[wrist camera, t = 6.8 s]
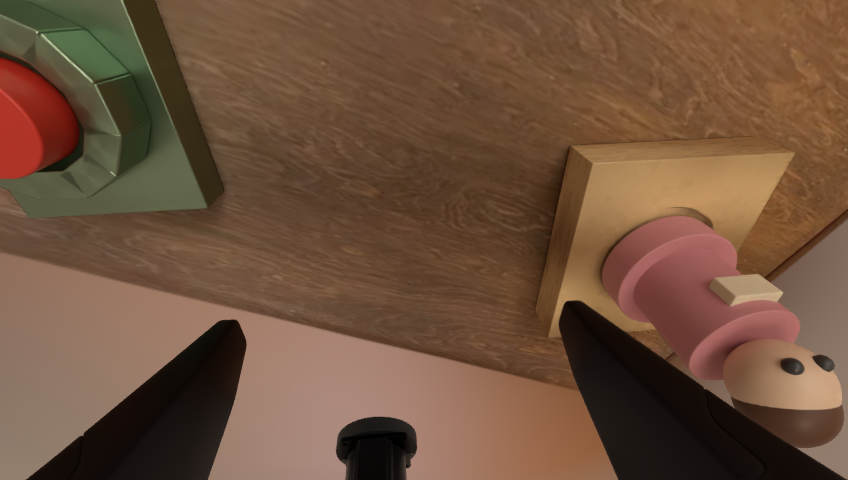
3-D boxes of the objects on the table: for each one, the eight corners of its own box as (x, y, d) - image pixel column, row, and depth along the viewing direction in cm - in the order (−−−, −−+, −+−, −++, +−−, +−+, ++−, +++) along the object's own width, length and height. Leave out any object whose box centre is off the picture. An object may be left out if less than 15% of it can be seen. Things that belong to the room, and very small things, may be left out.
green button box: (224, 190, 18) (188, 231, 15) (62, 199, 18) (-12, 243, 15) (131, -62, 13) (41, -84, 9) (-107, -58, 12) (-290, -80, 9)
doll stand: (670, 300, 26) (694, 326, 24) (534, 310, 25) (547, 338, 23) (752, 136, 19) (796, 152, 17) (570, 145, 18) (592, 163, 16)
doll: (686, 297, 22) (857, 468, 14) (590, 305, 21) (708, 484, 13) (730, 211, 18) (990, 371, 10) (617, 219, 18) (796, 390, 10)
